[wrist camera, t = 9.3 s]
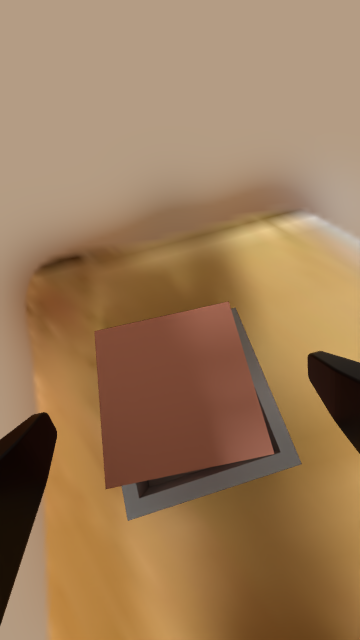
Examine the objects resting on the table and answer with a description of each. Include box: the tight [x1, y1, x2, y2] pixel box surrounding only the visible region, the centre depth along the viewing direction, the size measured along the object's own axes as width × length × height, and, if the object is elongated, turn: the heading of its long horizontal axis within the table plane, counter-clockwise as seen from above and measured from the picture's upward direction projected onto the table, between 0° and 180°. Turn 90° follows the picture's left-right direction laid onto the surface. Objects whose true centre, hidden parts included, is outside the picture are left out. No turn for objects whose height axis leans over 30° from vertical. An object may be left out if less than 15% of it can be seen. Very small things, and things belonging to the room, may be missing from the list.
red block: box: [95, 302, 274, 489], centre depth 13 cm, size 5×5×9 cm
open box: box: [122, 308, 301, 521], centre depth 16 cm, size 9×9×4 cm
